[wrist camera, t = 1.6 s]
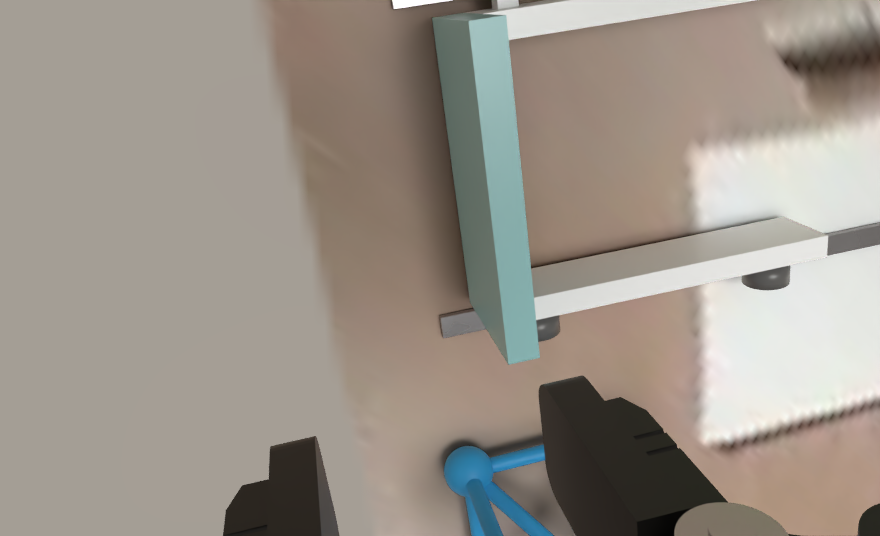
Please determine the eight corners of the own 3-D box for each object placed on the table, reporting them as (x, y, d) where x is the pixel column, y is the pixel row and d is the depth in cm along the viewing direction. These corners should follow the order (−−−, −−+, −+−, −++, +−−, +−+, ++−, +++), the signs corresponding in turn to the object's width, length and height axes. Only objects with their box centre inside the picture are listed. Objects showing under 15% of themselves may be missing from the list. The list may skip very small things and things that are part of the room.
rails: (388, -19, 27) (389, -20, 27) (1109, -125, 32) (1117, -126, 31) (442, 335, 33) (443, 338, 33) (1051, 204, 37) (1057, 205, 37)
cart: (426, -25, 27) (462, -32, 22) (794, -79, 29) (913, -98, 24) (474, 332, 33) (512, 399, 27) (781, 266, 35) (876, 315, 29)
